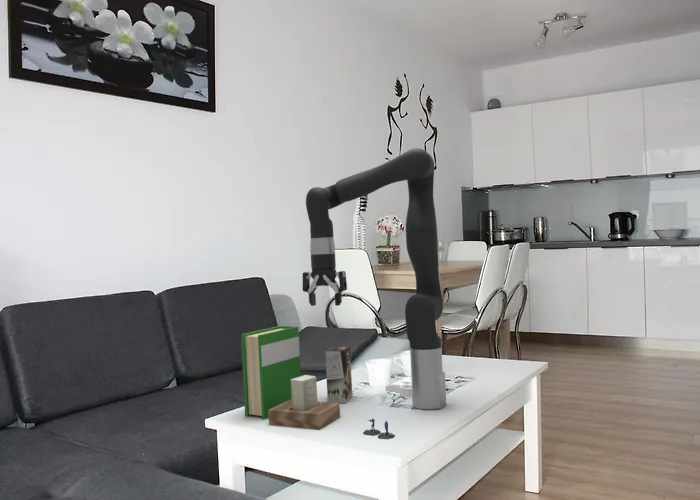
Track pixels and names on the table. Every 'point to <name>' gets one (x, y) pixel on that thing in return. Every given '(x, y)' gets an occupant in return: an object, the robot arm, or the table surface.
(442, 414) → the table surface
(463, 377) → the table surface
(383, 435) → the figurines
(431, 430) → the table surface
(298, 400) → the skincare box
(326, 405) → the walnut holder block
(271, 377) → the hardback book
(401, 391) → the white brass knuckles
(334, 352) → the coffee box
